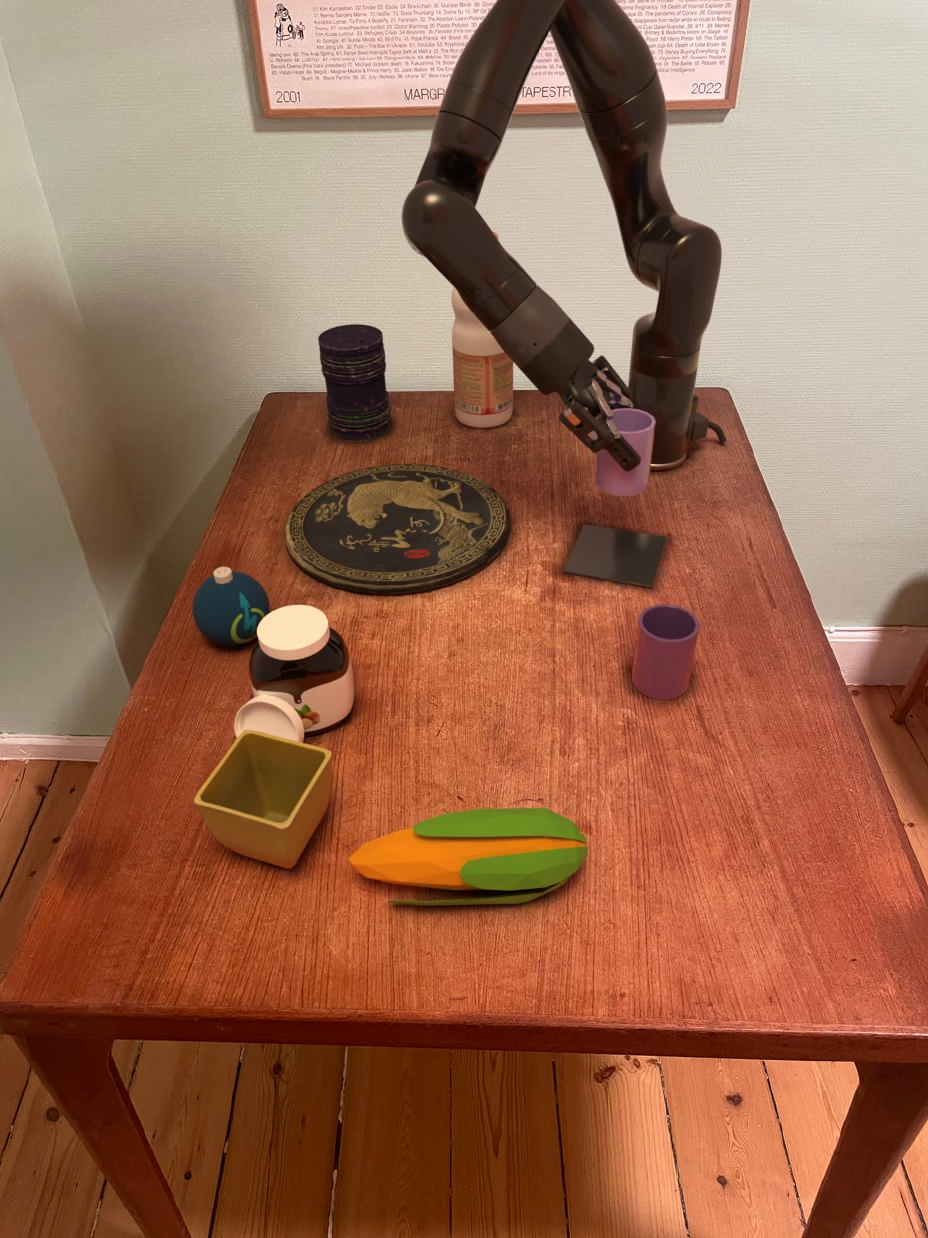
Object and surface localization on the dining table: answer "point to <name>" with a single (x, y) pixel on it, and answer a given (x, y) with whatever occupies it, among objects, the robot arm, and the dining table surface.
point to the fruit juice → (479, 371)
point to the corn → (478, 854)
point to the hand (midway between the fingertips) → (640, 451)
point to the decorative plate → (397, 529)
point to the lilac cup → (640, 436)
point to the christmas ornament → (230, 607)
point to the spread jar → (297, 676)
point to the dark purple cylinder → (355, 382)
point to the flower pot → (267, 797)
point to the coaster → (616, 556)
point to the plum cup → (664, 651)
